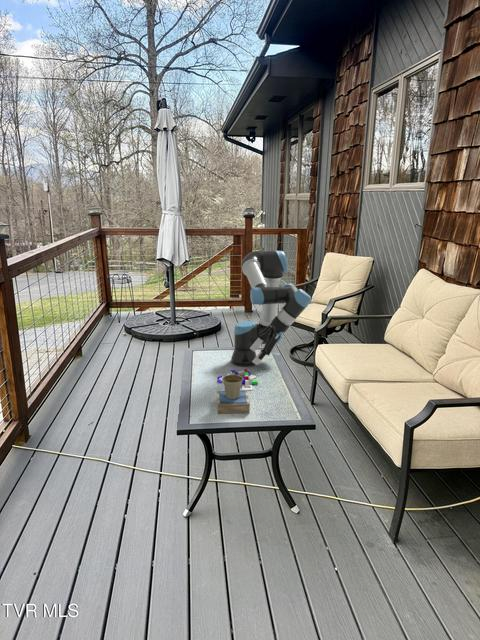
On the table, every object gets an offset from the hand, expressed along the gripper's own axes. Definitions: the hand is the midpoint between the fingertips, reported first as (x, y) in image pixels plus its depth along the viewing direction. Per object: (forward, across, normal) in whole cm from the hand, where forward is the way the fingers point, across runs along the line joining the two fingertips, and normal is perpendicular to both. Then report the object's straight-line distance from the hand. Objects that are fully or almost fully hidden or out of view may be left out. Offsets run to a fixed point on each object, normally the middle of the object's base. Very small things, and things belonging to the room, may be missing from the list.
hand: (253, 356), depth 191 cm
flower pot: (+19, -6, -3) cm, 20 cm away
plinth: (+23, -6, -6) cm, 25 cm away
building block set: (+24, +23, -10) cm, 35 cm away
